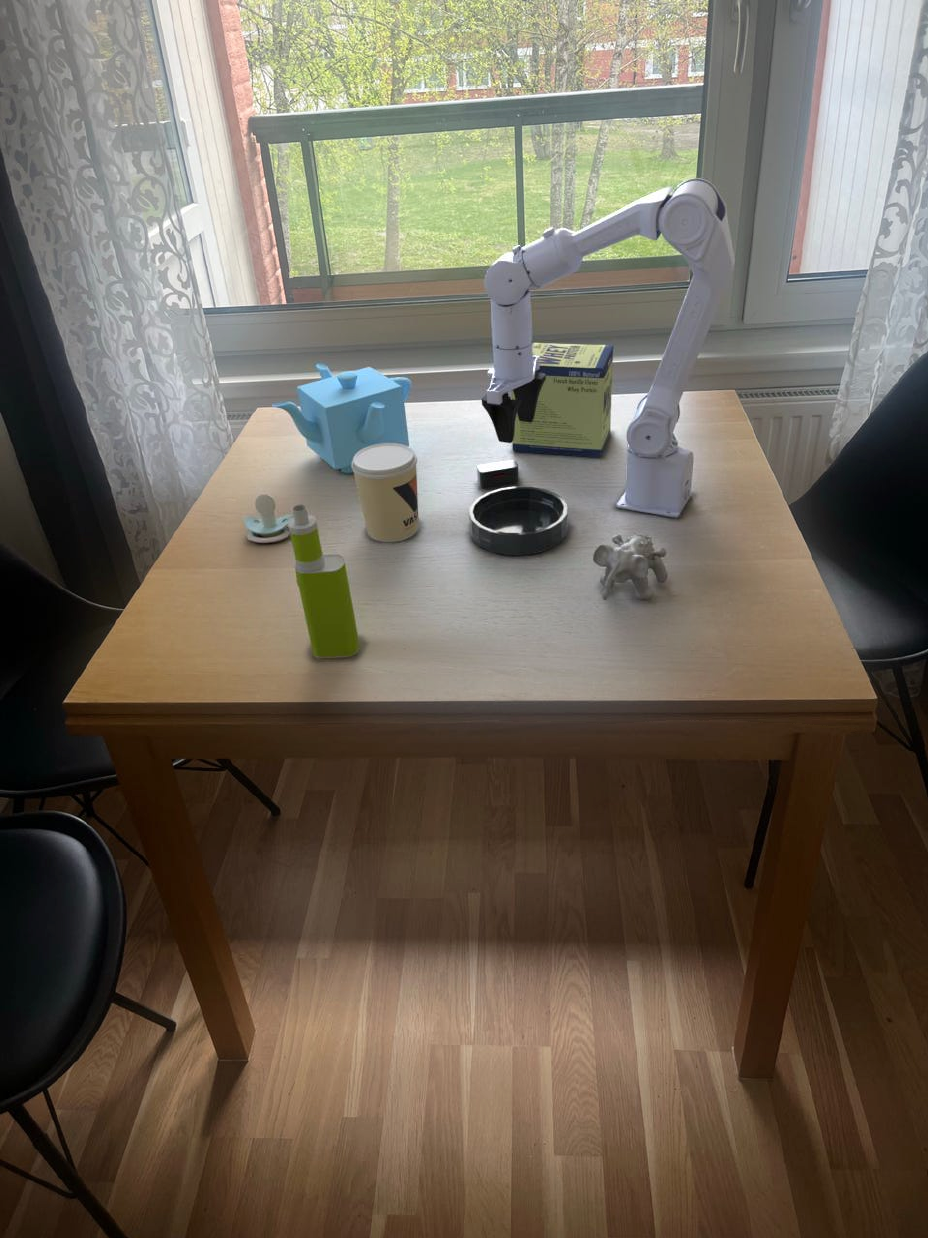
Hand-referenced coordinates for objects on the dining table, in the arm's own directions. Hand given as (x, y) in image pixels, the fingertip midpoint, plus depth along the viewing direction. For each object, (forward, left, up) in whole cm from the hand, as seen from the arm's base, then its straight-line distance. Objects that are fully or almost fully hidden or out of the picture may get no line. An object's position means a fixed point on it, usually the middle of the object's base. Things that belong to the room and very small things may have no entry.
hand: (516, 431), depth 137 cm
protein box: (0, -18, -10) cm, 20 cm away
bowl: (-5, +12, -10) cm, 17 cm away
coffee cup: (+13, +18, -10) cm, 24 cm away
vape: (+5, +46, -10) cm, 47 cm away
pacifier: (+30, +26, -10) cm, 41 cm away
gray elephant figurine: (-25, +22, -10) cm, 35 cm away
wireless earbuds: (+3, -1, -10) cm, 11 cm away
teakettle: (+32, -1, -10) cm, 33 cm away
